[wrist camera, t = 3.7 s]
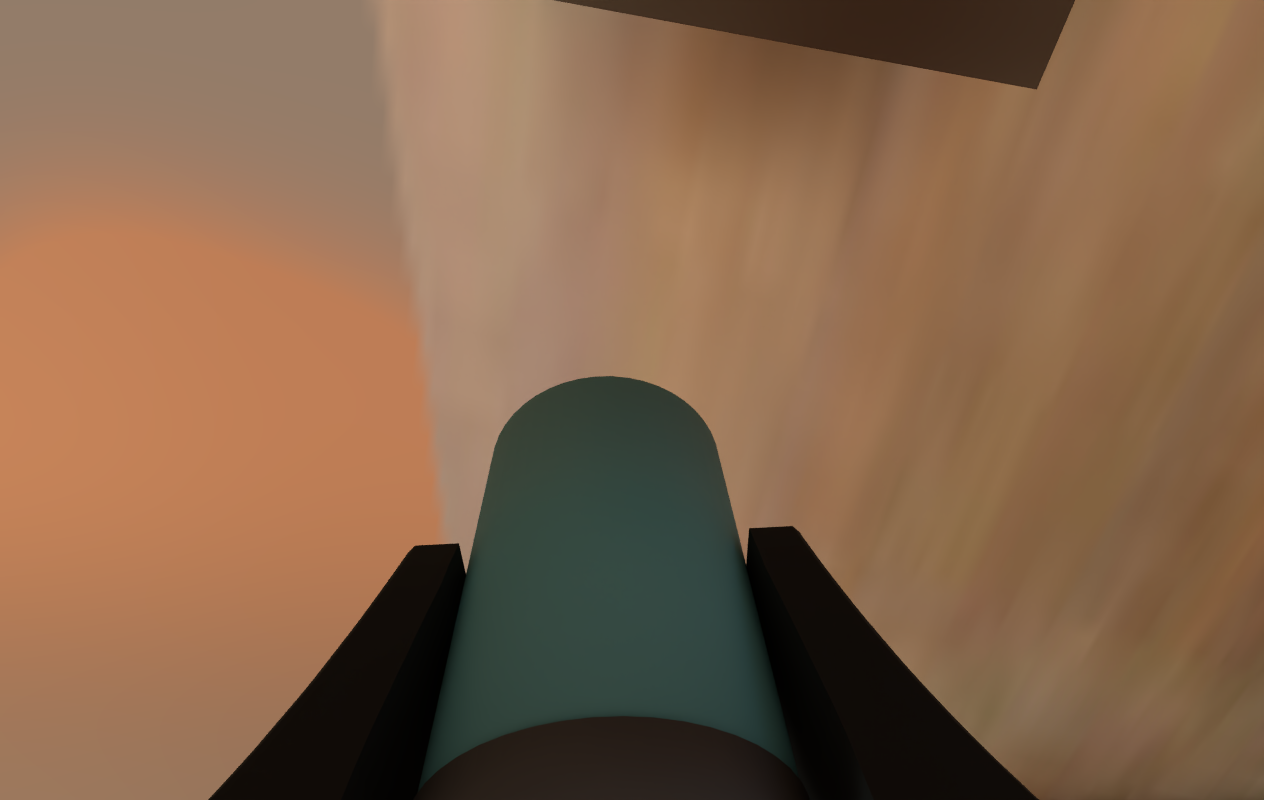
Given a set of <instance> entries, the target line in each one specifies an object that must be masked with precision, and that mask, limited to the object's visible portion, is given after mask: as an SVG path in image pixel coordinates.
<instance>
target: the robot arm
mask: <svg viewBox="0 0 1264 800" xmlns="http://www.w3.org/2000/svg"><path fill="white" fill-rule="evenodd" d="M746 567H747V571H748V575H749V579H750V583H751V587H752V591H753V595H754V599H755V603H756V607H757V611H758V615H759V619H760V623H761V627H762V631H763V635H764V639H765V643H766V647H767V651H768V655H769V659H770V663H771V667H772V671H773V675H774V679H775V683H776V687H777V691H778V695H779V699H780V703H781V707H782V711H783V715H784V719H785V723H786V727H787V731H788V735H789V739H790V743H791V748H792V752H793V756H794V760H795V764H796V768H797V772H798V776H799V779H800V780H801V781H802V783H803V785H804V787H805V789H806V791H807V793H808V795H809V798H810V800H1039V799H1038V798H1036V797H1035V796H1034V795H1033V794H1032V793H1031V792H1030V791H1029V790H1028V789H1027V788H1026V787H1025V786H1024V785H1022V784H1021V783H1020V782H1019V781H1018V780H1017V779H1016V778H1015V777H1014V776H1013V775H1012V774H1011V773H1010V772H1009V771H1008V770H1007V769H1006V768H1004V767H1003V766H1002V765H1001V764H1000V763H999V762H998V761H997V760H996V759H995V758H994V757H993V756H992V755H991V754H990V753H989V752H988V751H987V750H986V749H985V748H984V747H983V746H982V745H981V744H980V743H979V742H978V741H977V740H976V739H975V738H974V737H973V736H972V735H971V734H970V733H969V732H968V731H967V730H966V729H965V728H964V727H963V726H962V725H961V724H960V723H959V722H958V721H957V720H956V719H955V718H954V717H953V716H952V715H951V714H950V713H949V712H948V711H947V710H946V709H945V707H944V706H943V705H942V704H941V703H940V702H939V701H938V700H937V699H936V698H935V697H934V696H933V695H932V694H931V693H930V692H929V690H928V689H927V688H926V687H925V686H924V685H923V684H922V683H921V682H920V681H919V680H918V679H917V677H916V676H915V675H914V674H913V673H912V672H911V671H910V670H909V669H908V667H907V666H906V665H905V664H904V663H903V662H902V661H901V660H900V658H899V657H898V656H897V655H896V654H895V653H894V651H893V650H892V649H891V648H890V647H889V646H888V644H887V643H886V642H885V641H884V640H883V639H882V637H881V636H880V635H879V634H878V633H877V632H876V630H875V629H874V628H873V627H872V626H871V625H870V623H869V622H868V621H867V620H866V619H865V617H864V616H863V615H862V614H861V612H860V611H859V610H858V609H857V608H856V606H855V605H854V604H853V603H852V601H851V600H850V599H849V598H848V596H847V595H846V594H845V592H844V591H843V590H842V589H841V587H840V586H839V585H838V584H837V582H836V581H835V580H834V578H833V577H832V576H831V575H830V573H829V572H828V571H827V569H826V568H825V567H824V565H823V564H822V563H821V561H820V560H819V559H818V557H817V556H816V555H815V553H814V552H813V550H812V549H811V548H810V546H809V545H808V544H807V542H806V541H805V539H804V538H803V537H802V535H801V534H800V532H799V531H797V530H796V529H795V528H794V527H793V526H786V527H767V528H749V538H748V550H747V563H746ZM465 578H466V573H465V569H464V564H463V560H462V555H461V551H460V546H459V543H458V544H439V545H419V546H414V547H413V548H412V549H411V550H410V551H409V552H408V554H407V555H406V557H405V558H404V559H403V561H402V562H401V564H400V565H399V566H398V568H397V569H396V571H395V572H394V573H393V575H392V576H391V578H390V579H389V580H388V582H387V583H386V585H385V586H384V587H383V589H382V590H381V592H380V593H379V594H378V596H377V597H376V598H375V600H374V601H373V602H372V604H371V605H370V607H369V608H368V609H367V611H366V612H365V613H364V615H363V616H362V618H361V619H360V620H359V621H358V623H357V624H356V625H355V627H354V628H353V629H352V631H351V632H350V633H349V635H348V636H347V637H346V638H345V640H344V641H343V642H342V644H341V645H340V646H339V647H338V649H337V650H336V651H335V652H334V654H333V655H332V656H331V658H330V659H329V660H328V661H327V663H326V664H325V665H324V667H323V668H322V669H321V671H320V672H319V673H318V674H317V676H316V677H315V678H314V679H313V681H312V682H311V683H310V684H309V686H308V687H307V688H306V689H305V690H304V692H303V693H302V694H301V695H300V696H299V698H298V699H297V700H296V701H295V702H294V703H293V705H292V706H291V707H290V708H289V709H288V711H287V712H286V713H285V714H284V715H283V716H282V718H281V719H280V720H279V721H278V722H277V723H276V725H275V726H274V727H273V728H272V729H271V731H270V732H269V733H268V734H267V735H266V736H265V738H264V739H263V740H262V741H261V742H260V744H259V745H258V746H257V747H256V748H255V749H254V751H252V753H251V754H250V755H249V756H248V757H247V758H246V759H245V760H244V762H243V763H242V764H241V765H240V766H239V767H238V768H237V769H236V770H235V771H234V772H233V774H232V775H231V776H230V777H229V778H228V779H227V780H226V781H225V782H224V783H223V784H222V786H221V787H220V788H219V789H218V790H217V791H216V792H215V793H214V794H213V795H212V797H210V798H209V800H413V799H414V797H415V796H416V794H417V793H418V788H419V784H420V779H421V775H422V770H423V766H424V761H425V757H426V752H427V748H428V743H429V739H430V734H431V730H432V725H433V721H434V717H435V712H436V708H437V703H438V699H439V694H440V690H441V685H442V681H443V676H444V672H445V667H446V663H447V658H448V654H449V649H450V645H451V640H452V636H453V631H454V627H455V623H456V618H457V614H458V609H459V605H460V600H461V596H462V591H463V587H464V582H465Z"/></svg>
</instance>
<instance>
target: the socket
mask: <svg viewBox="0 0 1264 800" xmlns="http://www.w3.org/2000/svg"><path fill="white" fill-rule="evenodd" d="M556 1H561V2H567V3H572V4H577V5H583V6H588V7H594V8H599V9H604V10H610V11H615V12H621V13H626V14H632V15H637V16H642V17H648V18H653V19H659V20H664V21H669V22H675V23H680V24H686V25H691V26H696V27H702V28H707V29H713V30H718V31H724V32H729V33H734V34H740V35H745V36H751V37H756V38H761V39H767V40H772V41H778V42H783V43H788V44H794V45H799V46H805V47H810V48H816V49H821V50H826V51H832V52H837V53H843V54H848V55H853V56H859V57H864V58H870V59H875V60H880V61H886V62H891V63H897V64H902V65H908V66H913V67H918V68H924V69H929V70H935V71H940V72H945V73H951V74H956V75H962V76H967V77H972V78H978V79H983V80H989V81H994V82H1000V83H1005V84H1010V85H1016V86H1021V87H1027V88H1032V89H1037V87H1038V85H1039V83H1040V80H1041V78H1042V76H1043V73H1044V71H1045V69H1046V66H1047V64H1048V62H1049V59H1050V57H1051V55H1052V52H1053V50H1054V48H1055V46H1056V43H1057V41H1058V39H1059V36H1060V34H1061V32H1062V29H1063V27H1064V25H1065V22H1066V20H1067V18H1068V15H1069V13H1070V11H1071V8H1072V6H1073V4H1074V1H1075V0H556Z"/></svg>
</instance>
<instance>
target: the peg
mask: <svg viewBox="0 0 1264 800" xmlns="http://www.w3.org/2000/svg"><path fill="white" fill-rule="evenodd" d="M413 800H810V798H809V795H808V793H807V791H806V789H805V787H804V785H803V783H802V781H801V780H800V779H799V776H798V772H797V768H796V764H795V760H794V756H793V752H792V748H791V743H790V739H789V735H788V731H787V727H786V723H785V719H784V715H783V711H782V707H781V703H780V699H779V695H778V691H777V687H776V683H775V679H774V675H773V671H772V667H771V663H770V659H769V655H768V651H767V647H766V643H765V639H764V635H763V631H762V627H761V623H760V619H759V615H758V611H757V607H756V603H755V599H754V595H753V591H752V587H751V583H750V579H749V575H748V571H747V567H746V563H745V559H744V555H743V551H742V547H741V543H740V539H739V535H738V531H737V527H736V523H735V519H734V515H733V511H732V507H731V503H730V499H729V495H728V491H727V487H726V483H725V479H724V475H723V471H722V467H721V463H720V459H719V455H718V451H717V447H716V443H715V441H714V438H713V436H712V434H711V431H710V430H709V428H708V426H707V425H706V423H705V422H704V420H703V419H702V418H701V417H700V415H699V414H698V413H697V412H696V411H695V410H694V409H693V408H692V407H691V406H690V405H688V404H687V403H686V402H685V401H684V400H682V399H681V398H679V397H678V396H676V395H675V394H673V393H671V392H669V391H667V390H665V389H663V388H661V387H659V386H656V385H653V384H650V383H648V382H645V381H641V380H636V379H631V378H624V377H614V376H604V377H590V378H582V379H577V380H573V381H569V382H565V383H562V384H560V385H557V386H555V387H552V388H549V389H548V390H546V391H544V392H542V393H540V394H538V395H536V396H535V397H534V398H532V399H531V400H529V401H528V402H527V403H525V404H524V405H523V406H522V407H521V408H520V409H519V410H517V411H516V412H515V413H514V414H513V416H512V417H511V418H510V419H509V421H508V422H507V423H506V424H505V426H504V428H503V430H502V431H501V433H500V435H499V437H498V440H497V443H496V445H495V448H494V452H493V457H492V461H491V466H490V470H489V475H488V479H487V484H486V488H485V493H484V497H483V502H482V506H481V511H480V515H479V520H478V524H477V529H476V533H475V537H474V542H473V546H472V551H471V555H470V560H469V564H468V569H467V573H466V578H465V582H464V587H463V591H462V596H461V600H460V605H459V609H458V614H457V618H456V623H455V627H454V631H453V636H452V640H451V645H450V649H449V654H448V658H447V663H446V667H445V672H444V676H443V681H442V685H441V690H440V694H439V699H438V703H437V708H436V712H435V717H434V721H433V725H432V730H431V734H430V739H429V743H428V748H427V752H426V757H425V761H424V766H423V770H422V775H421V779H420V784H419V788H418V793H417V794H416V796H415V797H414V799H413Z"/></svg>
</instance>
